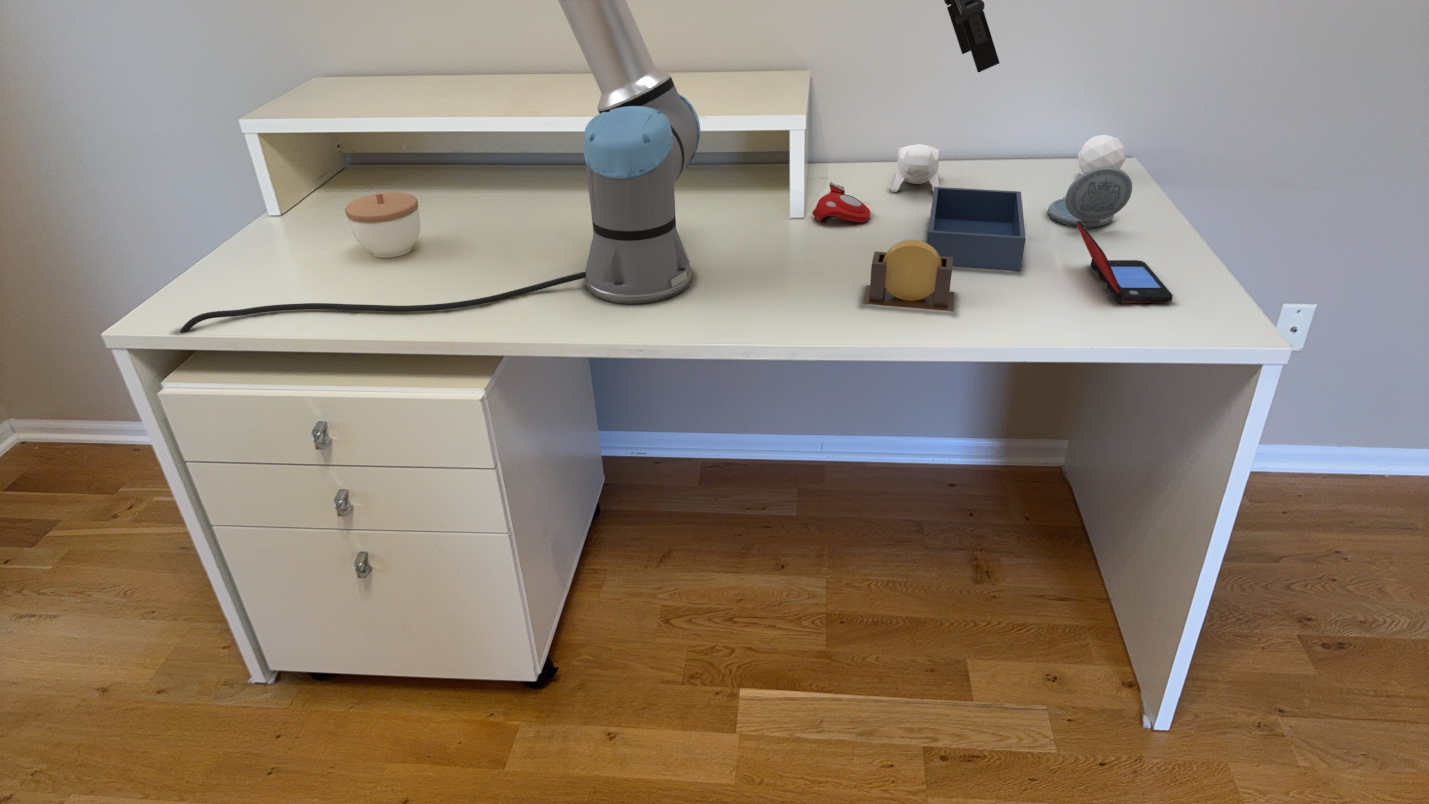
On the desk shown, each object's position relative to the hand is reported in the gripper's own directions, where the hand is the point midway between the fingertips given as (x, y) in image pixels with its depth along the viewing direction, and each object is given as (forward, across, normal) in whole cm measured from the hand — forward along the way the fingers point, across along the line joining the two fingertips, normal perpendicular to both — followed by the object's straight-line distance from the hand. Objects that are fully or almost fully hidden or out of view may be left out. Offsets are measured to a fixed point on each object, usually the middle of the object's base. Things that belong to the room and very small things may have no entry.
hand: (979, 58), depth 119 cm
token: (+23, -12, +19) cm, 32 cm away
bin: (+27, +8, +8) cm, 30 cm away
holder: (+24, -12, +19) cm, 33 cm away
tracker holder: (+19, +20, +26) cm, 38 cm away
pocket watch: (+35, +19, -9) cm, 41 cm away
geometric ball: (+37, +39, -16) cm, 56 cm away
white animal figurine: (+24, +33, +14) cm, 43 cm away
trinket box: (-9, +3, +91) cm, 92 cm away
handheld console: (+35, -6, -7) cm, 37 cm away
